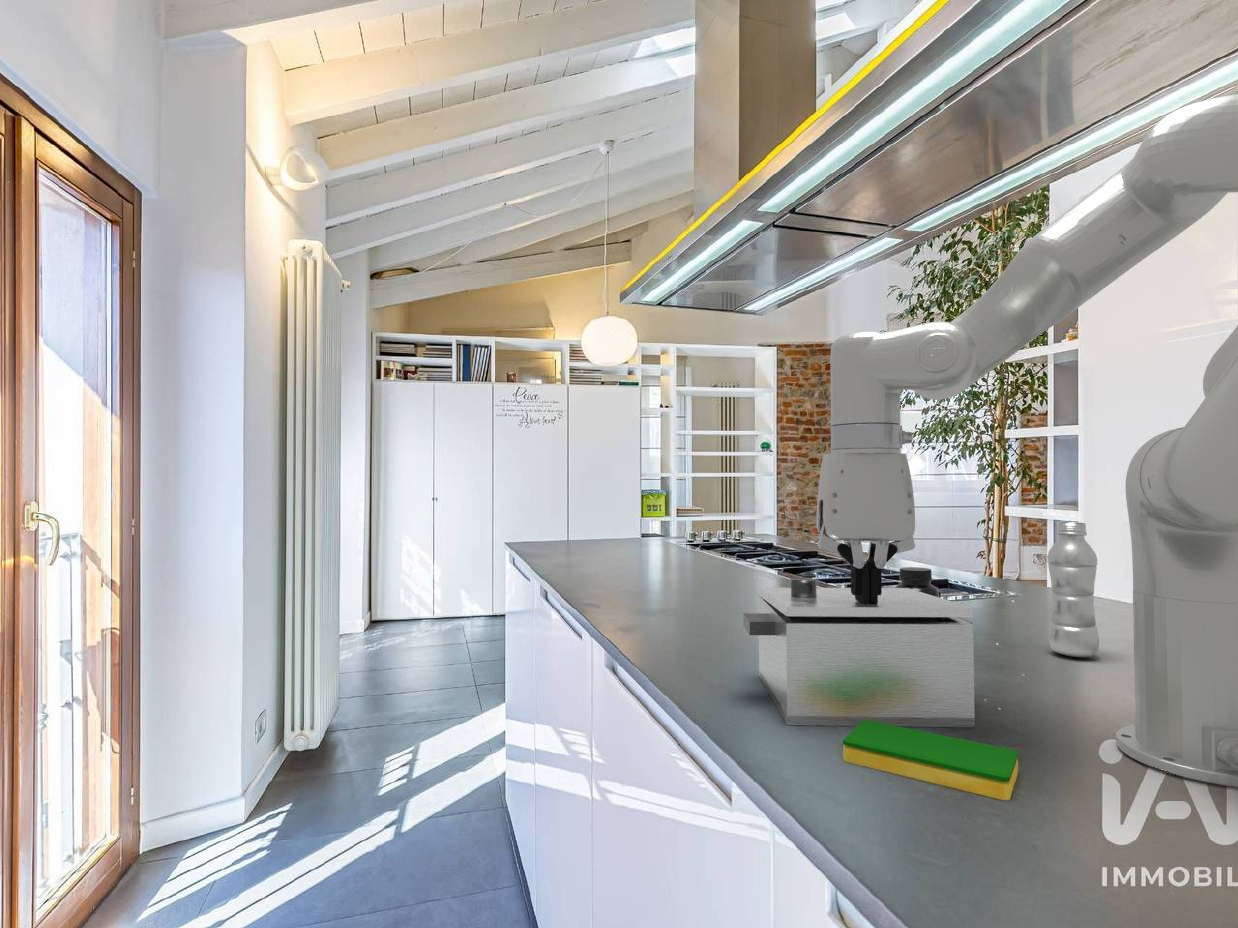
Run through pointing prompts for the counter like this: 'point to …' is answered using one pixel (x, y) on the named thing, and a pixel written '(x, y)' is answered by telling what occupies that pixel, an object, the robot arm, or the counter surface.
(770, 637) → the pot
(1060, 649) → the plastic bottle
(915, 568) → the supplement bottle
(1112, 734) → the counter surface
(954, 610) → the lid
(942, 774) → the dish sponge
